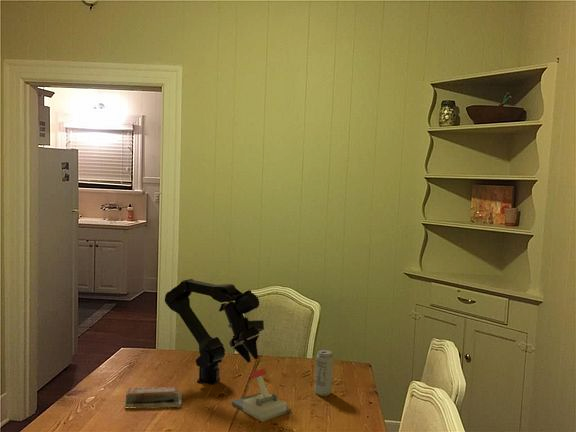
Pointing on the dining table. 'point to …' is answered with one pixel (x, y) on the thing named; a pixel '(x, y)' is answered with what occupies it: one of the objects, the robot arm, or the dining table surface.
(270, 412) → the switch panel
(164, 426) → the dining table surface
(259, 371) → the switch lever
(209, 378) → the robot arm
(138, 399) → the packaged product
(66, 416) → the dining table surface
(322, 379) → the energy drink can
